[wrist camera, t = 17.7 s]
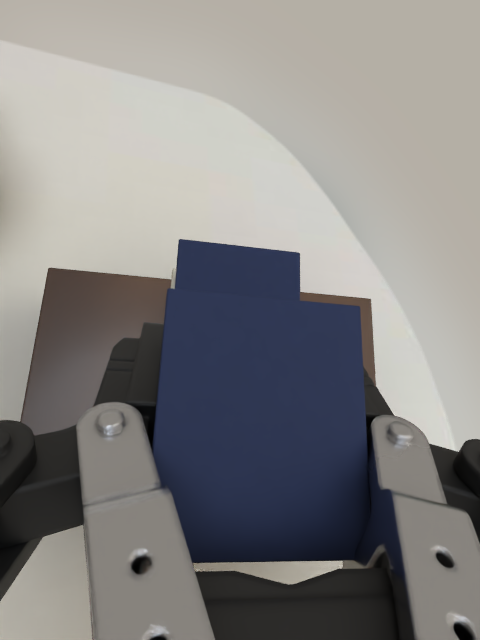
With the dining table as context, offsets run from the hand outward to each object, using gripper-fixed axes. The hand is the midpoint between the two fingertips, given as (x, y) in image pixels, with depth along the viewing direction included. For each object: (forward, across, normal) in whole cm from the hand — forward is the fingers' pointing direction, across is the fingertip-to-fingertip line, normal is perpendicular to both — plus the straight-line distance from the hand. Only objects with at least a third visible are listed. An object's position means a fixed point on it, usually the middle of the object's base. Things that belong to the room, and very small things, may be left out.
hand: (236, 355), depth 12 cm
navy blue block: (+3, 0, +4) cm, 5 cm away
